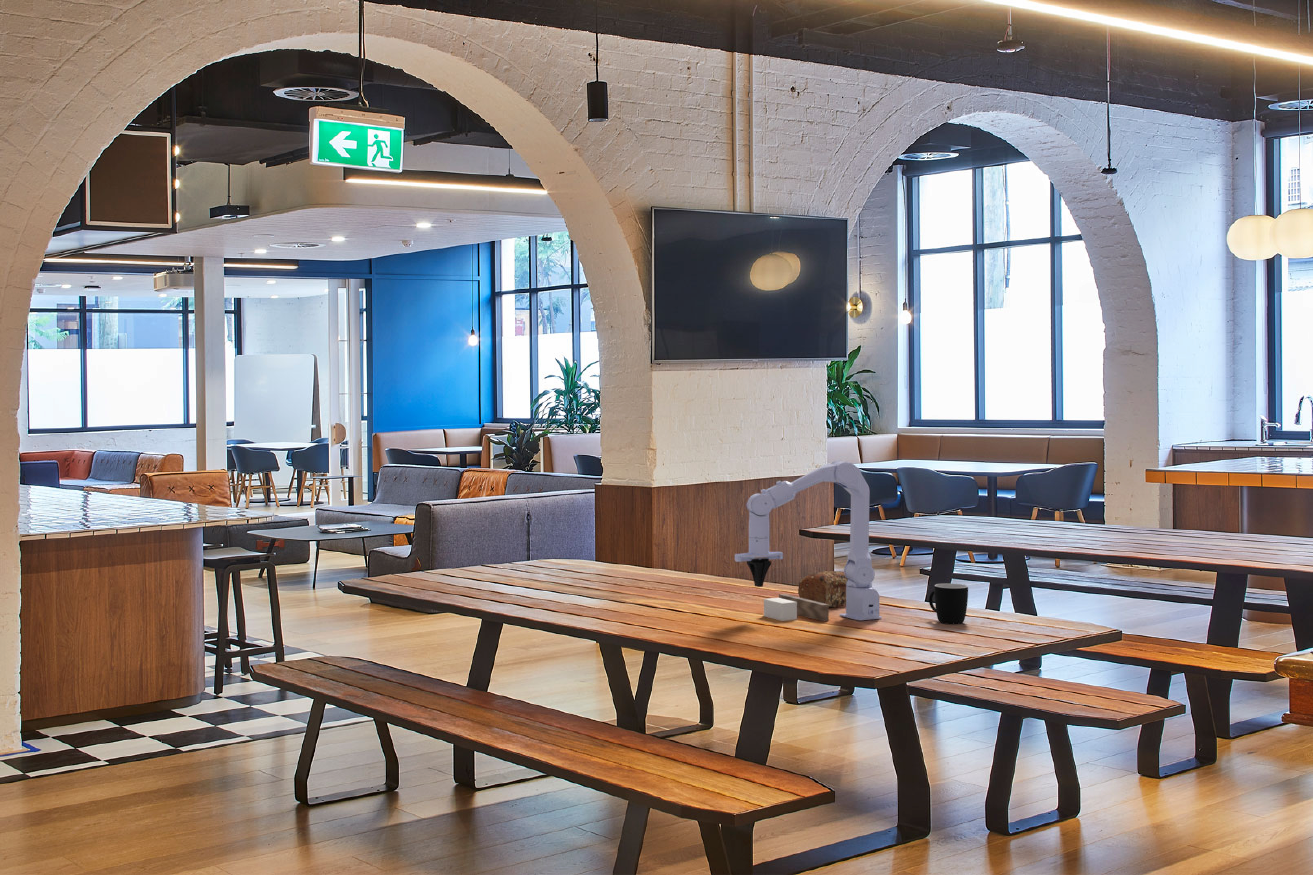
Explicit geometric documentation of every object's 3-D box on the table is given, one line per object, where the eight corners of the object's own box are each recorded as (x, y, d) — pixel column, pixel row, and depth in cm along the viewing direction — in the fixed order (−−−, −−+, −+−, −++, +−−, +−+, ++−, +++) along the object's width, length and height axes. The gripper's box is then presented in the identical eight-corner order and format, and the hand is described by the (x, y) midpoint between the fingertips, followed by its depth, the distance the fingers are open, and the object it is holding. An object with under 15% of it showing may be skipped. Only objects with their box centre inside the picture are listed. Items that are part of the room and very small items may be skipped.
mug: (974, 623, 349) (975, 586, 349) (953, 626, 343) (953, 589, 343) (940, 617, 358) (940, 581, 358) (918, 620, 353) (919, 583, 353)
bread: (826, 610, 372) (826, 575, 371) (796, 606, 379) (796, 572, 378) (861, 602, 386) (861, 569, 385) (831, 599, 393) (831, 566, 392)
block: (796, 620, 355) (796, 602, 355) (781, 621, 352) (781, 603, 352) (778, 615, 363) (778, 597, 363) (763, 616, 360) (763, 598, 360)
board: (828, 620, 352) (828, 604, 352) (822, 621, 351) (822, 604, 351) (784, 609, 372) (784, 593, 372) (778, 609, 371) (778, 594, 371)
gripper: (773, 534, 361) (773, 582, 361) (729, 537, 354) (728, 586, 354) (787, 537, 354) (786, 586, 355) (742, 539, 348) (742, 589, 348)
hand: (758, 586), depth 354 cm, fingers closed
